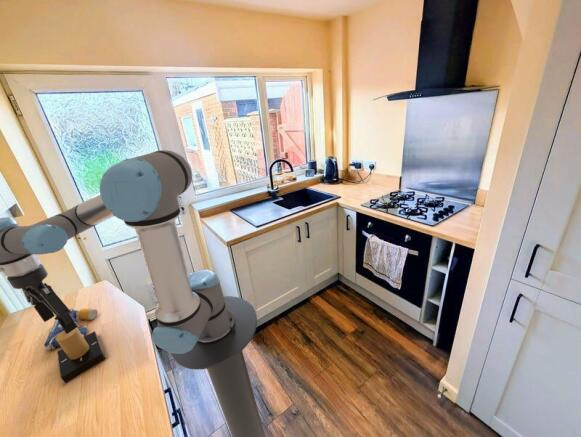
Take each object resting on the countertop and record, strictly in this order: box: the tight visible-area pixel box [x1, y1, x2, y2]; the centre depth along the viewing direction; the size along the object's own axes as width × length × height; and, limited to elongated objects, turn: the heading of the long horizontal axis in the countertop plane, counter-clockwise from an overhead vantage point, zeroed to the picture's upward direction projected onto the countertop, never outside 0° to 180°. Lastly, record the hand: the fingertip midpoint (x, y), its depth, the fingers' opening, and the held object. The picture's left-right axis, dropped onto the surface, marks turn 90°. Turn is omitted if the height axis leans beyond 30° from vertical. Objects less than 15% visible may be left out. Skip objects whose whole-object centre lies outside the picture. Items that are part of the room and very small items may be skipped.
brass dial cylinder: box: [56, 328, 89, 360], centre depth 82 cm, size 6×6×9 cm
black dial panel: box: [57, 330, 107, 384], centre depth 85 cm, size 14×11×3 cm
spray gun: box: [44, 308, 99, 351], centre depth 98 cm, size 21×4×15 cm
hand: (60, 324), depth 79 cm, fingers open, 13 cm apart
